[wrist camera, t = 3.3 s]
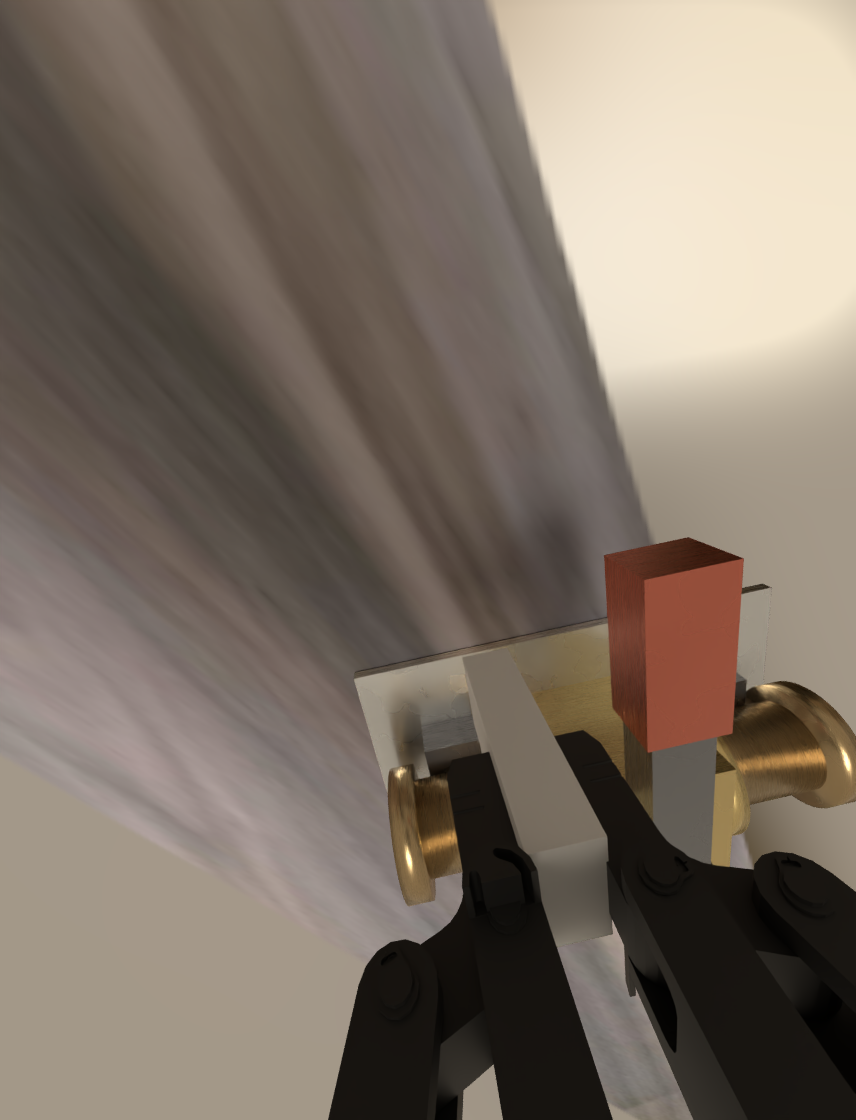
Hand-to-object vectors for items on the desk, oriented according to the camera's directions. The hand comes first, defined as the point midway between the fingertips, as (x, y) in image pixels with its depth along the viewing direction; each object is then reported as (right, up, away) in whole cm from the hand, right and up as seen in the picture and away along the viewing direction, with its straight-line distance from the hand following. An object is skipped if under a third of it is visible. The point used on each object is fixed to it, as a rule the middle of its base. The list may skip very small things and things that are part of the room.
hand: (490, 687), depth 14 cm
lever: (+6, -3, +2) cm, 8 cm away
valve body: (+7, -6, +12) cm, 15 cm away
